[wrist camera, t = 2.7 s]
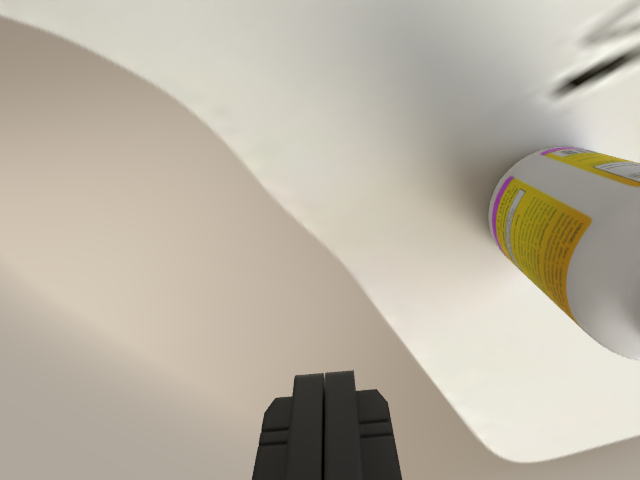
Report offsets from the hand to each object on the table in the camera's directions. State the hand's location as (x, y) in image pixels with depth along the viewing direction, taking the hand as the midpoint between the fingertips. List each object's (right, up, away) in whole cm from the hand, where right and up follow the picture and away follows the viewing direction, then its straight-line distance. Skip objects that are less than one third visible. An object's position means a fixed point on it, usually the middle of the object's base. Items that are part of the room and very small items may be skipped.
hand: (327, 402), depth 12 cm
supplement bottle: (+12, +6, +13) cm, 19 cm away
